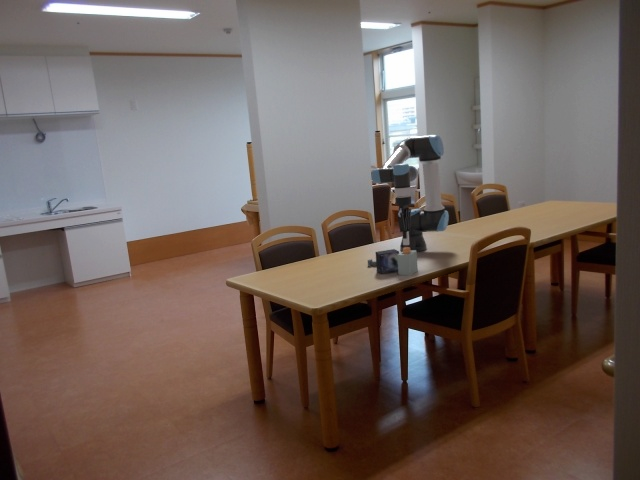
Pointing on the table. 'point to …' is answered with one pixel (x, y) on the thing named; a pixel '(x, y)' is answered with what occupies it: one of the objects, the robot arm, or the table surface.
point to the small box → (387, 261)
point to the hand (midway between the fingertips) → (406, 244)
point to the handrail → (371, 262)
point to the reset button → (406, 250)
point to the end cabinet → (407, 263)
